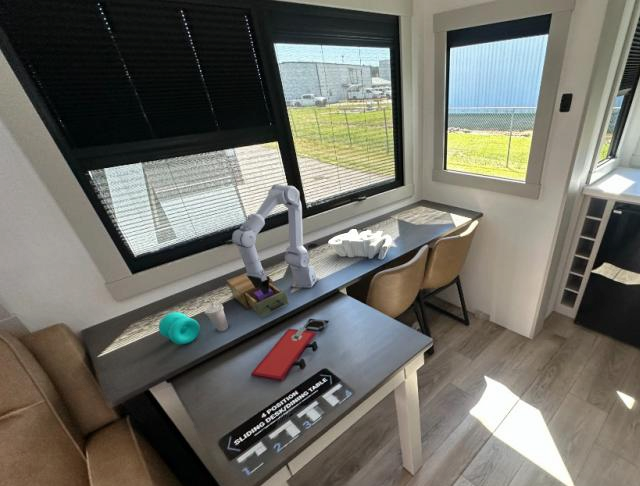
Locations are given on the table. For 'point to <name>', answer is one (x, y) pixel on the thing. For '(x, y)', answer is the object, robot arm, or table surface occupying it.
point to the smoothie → (217, 315)
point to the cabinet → (242, 288)
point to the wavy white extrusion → (361, 244)
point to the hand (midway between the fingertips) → (262, 290)
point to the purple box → (262, 295)
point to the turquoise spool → (179, 328)
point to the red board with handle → (289, 351)
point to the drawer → (267, 301)
